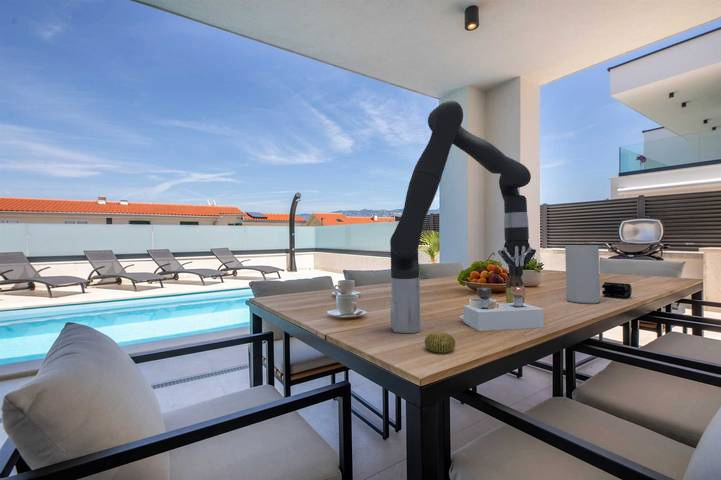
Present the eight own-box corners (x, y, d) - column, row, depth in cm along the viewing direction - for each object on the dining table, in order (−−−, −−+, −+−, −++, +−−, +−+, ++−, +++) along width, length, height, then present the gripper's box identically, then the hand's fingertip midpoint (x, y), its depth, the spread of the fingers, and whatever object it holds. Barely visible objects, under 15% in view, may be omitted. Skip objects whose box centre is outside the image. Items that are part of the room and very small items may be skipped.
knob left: (481, 315, 112) (480, 289, 112) (475, 312, 116) (474, 287, 116) (494, 314, 112) (494, 289, 112) (487, 311, 117) (487, 287, 117)
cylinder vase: (605, 301, 150) (603, 245, 150) (592, 305, 143) (590, 246, 143) (574, 298, 160) (573, 245, 160) (561, 301, 153) (559, 246, 153)
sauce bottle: (527, 317, 124) (525, 263, 124) (508, 317, 126) (507, 263, 126) (522, 313, 131) (520, 262, 131) (504, 313, 132) (503, 262, 132)
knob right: (515, 313, 113) (515, 288, 113) (508, 310, 118) (507, 286, 118) (528, 312, 114) (528, 287, 114) (520, 309, 118) (520, 286, 118)
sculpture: (418, 334, 92) (438, 329, 97) (418, 349, 92) (438, 343, 97) (441, 341, 85) (461, 335, 90) (441, 357, 85) (461, 350, 90)
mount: (478, 331, 108) (478, 312, 108) (463, 322, 120) (463, 305, 120) (543, 327, 110) (543, 309, 110) (522, 319, 122) (521, 302, 122)
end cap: (632, 297, 158) (631, 283, 158) (627, 299, 154) (626, 284, 154) (606, 295, 166) (606, 281, 166) (601, 297, 162) (600, 282, 162)
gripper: (503, 226, 111) (505, 279, 111) (541, 225, 113) (543, 277, 112) (492, 227, 119) (493, 277, 119) (527, 226, 120) (529, 275, 120)
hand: (517, 277), depth 116 cm, fingers closed
